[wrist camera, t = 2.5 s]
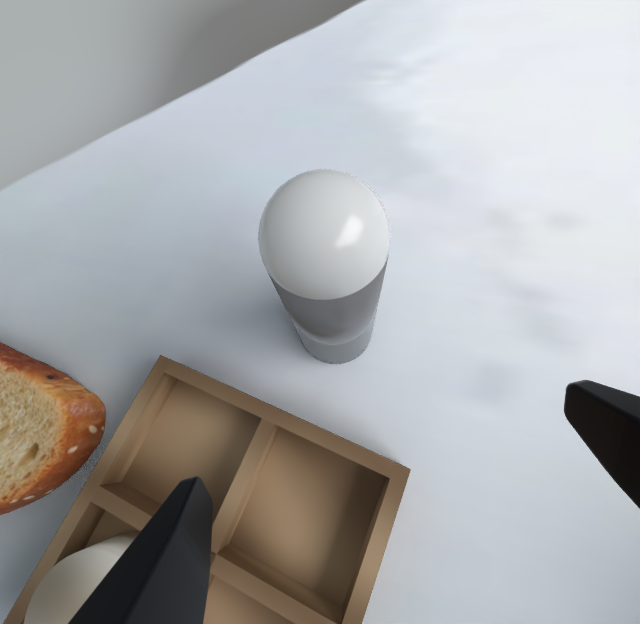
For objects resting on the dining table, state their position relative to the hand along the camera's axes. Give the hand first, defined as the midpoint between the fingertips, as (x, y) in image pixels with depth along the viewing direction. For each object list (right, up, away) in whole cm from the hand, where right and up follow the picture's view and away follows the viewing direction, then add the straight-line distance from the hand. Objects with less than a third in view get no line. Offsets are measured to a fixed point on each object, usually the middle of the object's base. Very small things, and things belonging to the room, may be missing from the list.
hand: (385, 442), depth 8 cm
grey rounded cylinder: (0, +2, +15) cm, 15 cm away
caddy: (-7, -10, +11) cm, 16 cm away
